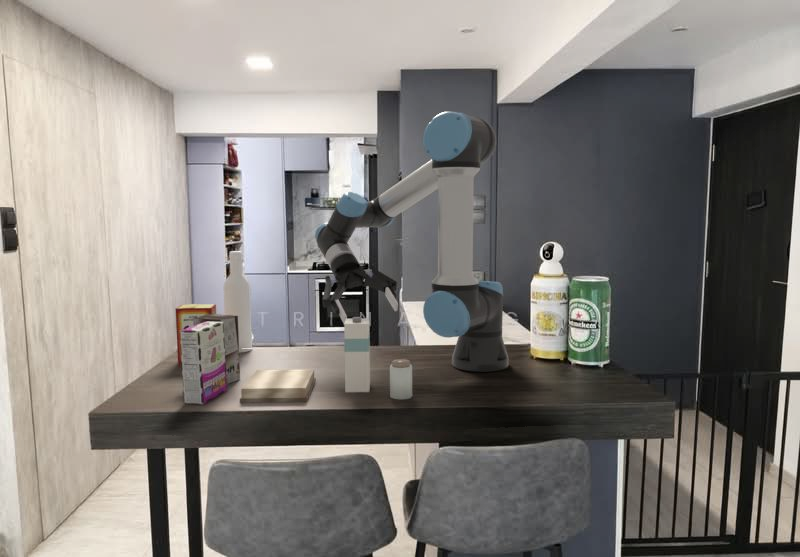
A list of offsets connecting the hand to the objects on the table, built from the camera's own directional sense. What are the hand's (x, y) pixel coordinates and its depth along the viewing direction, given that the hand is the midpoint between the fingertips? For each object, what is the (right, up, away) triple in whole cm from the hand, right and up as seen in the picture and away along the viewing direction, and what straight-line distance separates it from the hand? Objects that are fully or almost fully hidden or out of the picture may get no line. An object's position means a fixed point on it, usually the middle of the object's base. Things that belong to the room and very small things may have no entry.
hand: (371, 313), depth 151 cm
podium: (-21, -17, -10) cm, 29 cm away
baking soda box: (-49, -15, +19) cm, 55 cm away
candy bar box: (-37, -18, -15) cm, 43 cm away
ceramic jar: (+7, -18, -15) cm, 24 cm away
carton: (-3, -17, -8) cm, 19 cm away
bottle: (-42, -13, +33) cm, 55 cm away
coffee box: (-38, -17, -1) cm, 41 cm away
